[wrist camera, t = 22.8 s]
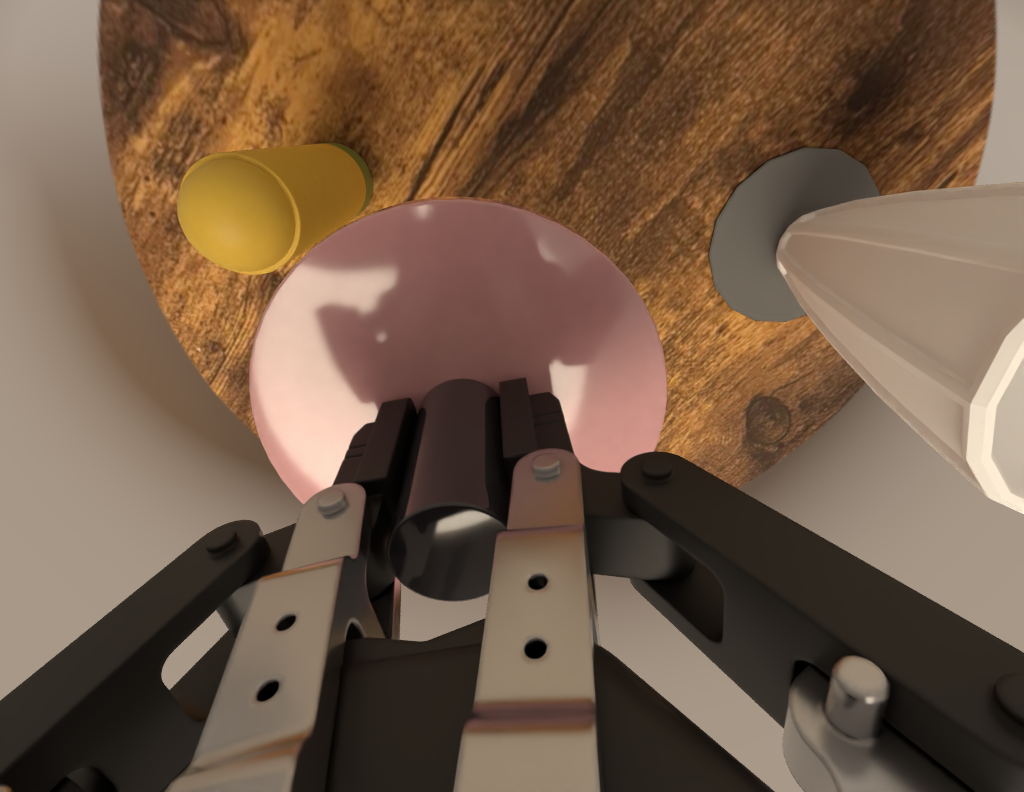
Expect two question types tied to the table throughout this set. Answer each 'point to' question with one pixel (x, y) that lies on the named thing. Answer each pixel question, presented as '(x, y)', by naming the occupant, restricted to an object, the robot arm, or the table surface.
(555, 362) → the lid
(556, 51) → the table surface
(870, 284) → the cup
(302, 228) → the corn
